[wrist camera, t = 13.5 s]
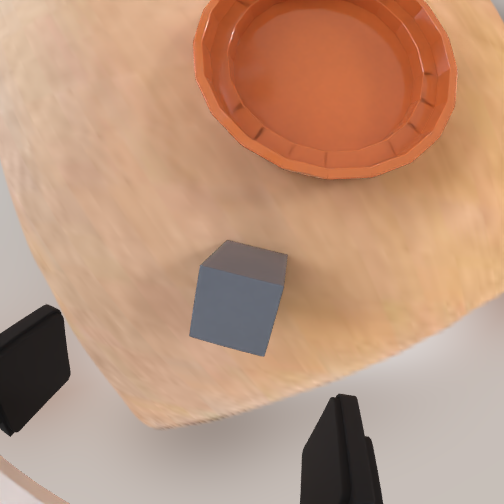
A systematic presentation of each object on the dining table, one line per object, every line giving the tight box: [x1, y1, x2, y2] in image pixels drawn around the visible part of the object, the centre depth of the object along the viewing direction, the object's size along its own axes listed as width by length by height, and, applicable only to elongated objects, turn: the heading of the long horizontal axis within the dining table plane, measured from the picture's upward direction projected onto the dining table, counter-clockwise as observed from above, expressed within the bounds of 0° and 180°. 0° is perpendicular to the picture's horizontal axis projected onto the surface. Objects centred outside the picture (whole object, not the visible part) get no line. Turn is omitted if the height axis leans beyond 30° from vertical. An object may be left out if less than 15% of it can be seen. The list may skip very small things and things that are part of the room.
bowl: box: [193, 0, 457, 180], centre depth 16 cm, size 16×16×4 cm
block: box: [189, 240, 288, 357], centre depth 20 cm, size 4×4×6 cm
